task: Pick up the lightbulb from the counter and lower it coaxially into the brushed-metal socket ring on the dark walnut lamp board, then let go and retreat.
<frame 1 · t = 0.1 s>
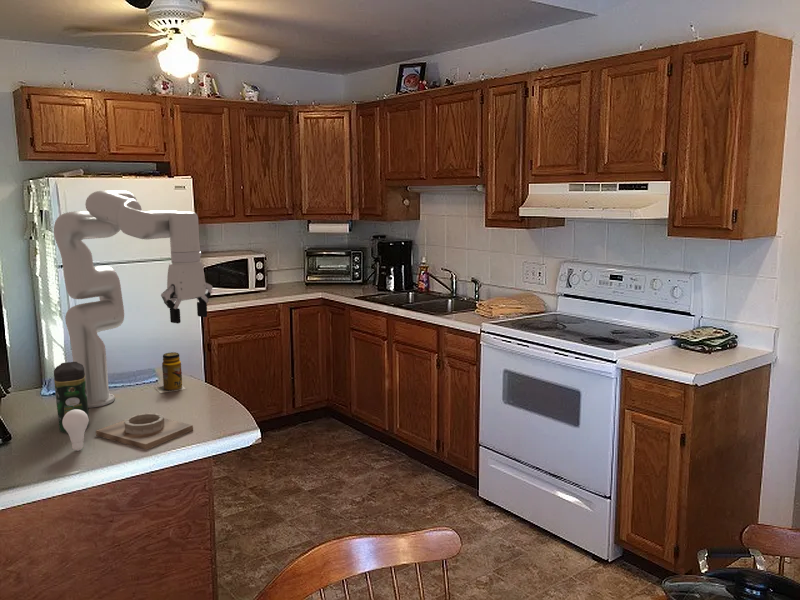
hand: (189, 319, 185), 31 cm above the counter, tool pointing down, fingers open, 9 cm apart
coffee jar: (74, 428, 190), on the counter
socket board: (145, 432, 186), on the counter
condiment: (170, 389, 226), on the counter
lightbulb: (78, 451, 174), on the counter
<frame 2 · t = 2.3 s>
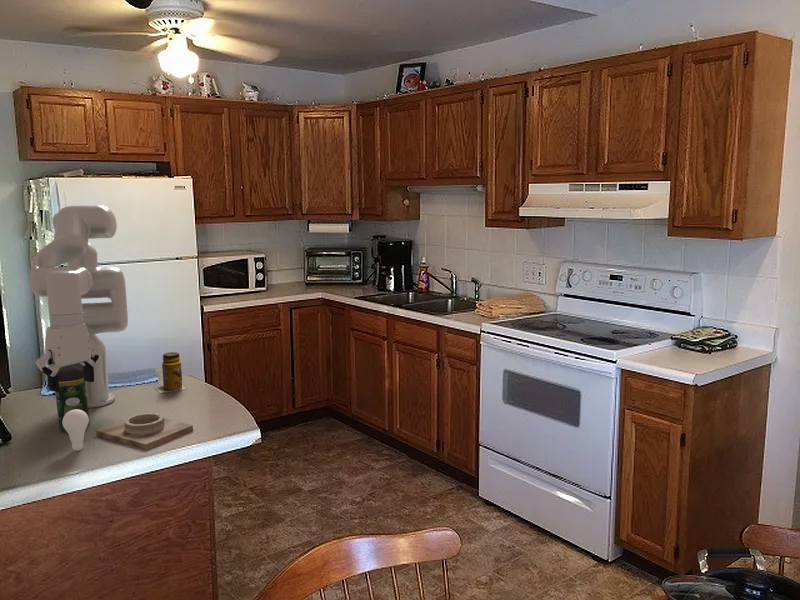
hand: (72, 386, 171), 17 cm above the counter, tool pointing down, fingers open, 9 cm apart
nothing on the counter moved.
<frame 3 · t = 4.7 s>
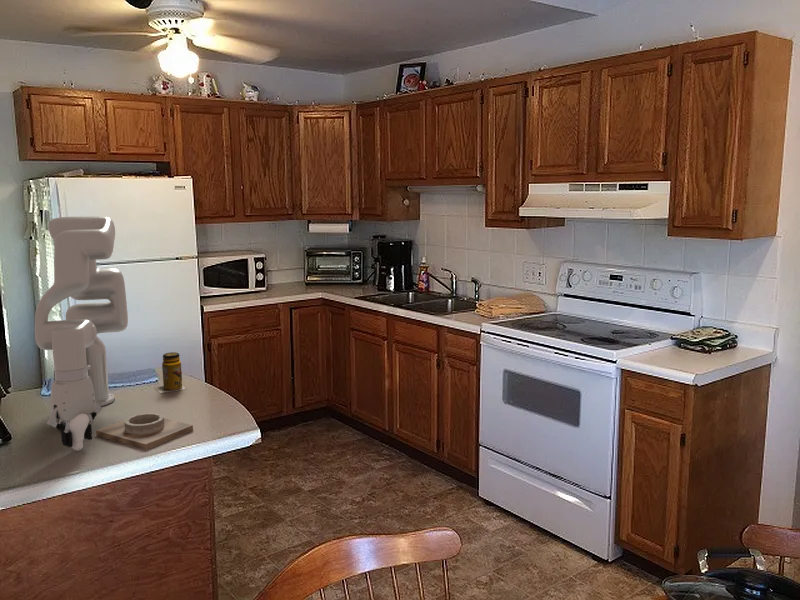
hand: (77, 441, 174), 2 cm above the counter, tool pointing down, fingers closed on lightbulb, 4 cm apart
lightbulb: (78, 451, 174), on the counter, touching gripper
everything else where it was.
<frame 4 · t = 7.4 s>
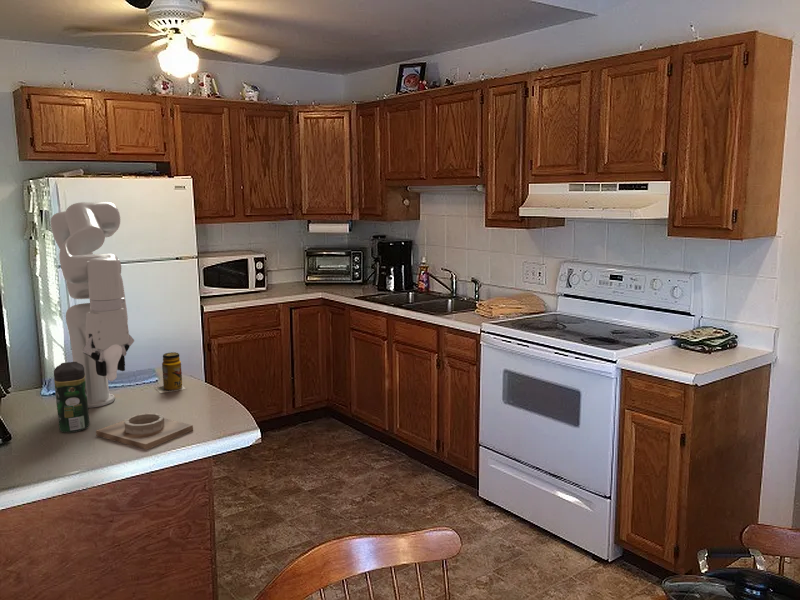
hand: (111, 372, 178), 19 cm above the counter, tool pointing down, fingers closed on lightbulb, 4 cm apart
lightbulb: (111, 381, 178), point 16 cm above the counter, touching gripper
everything else where it was.
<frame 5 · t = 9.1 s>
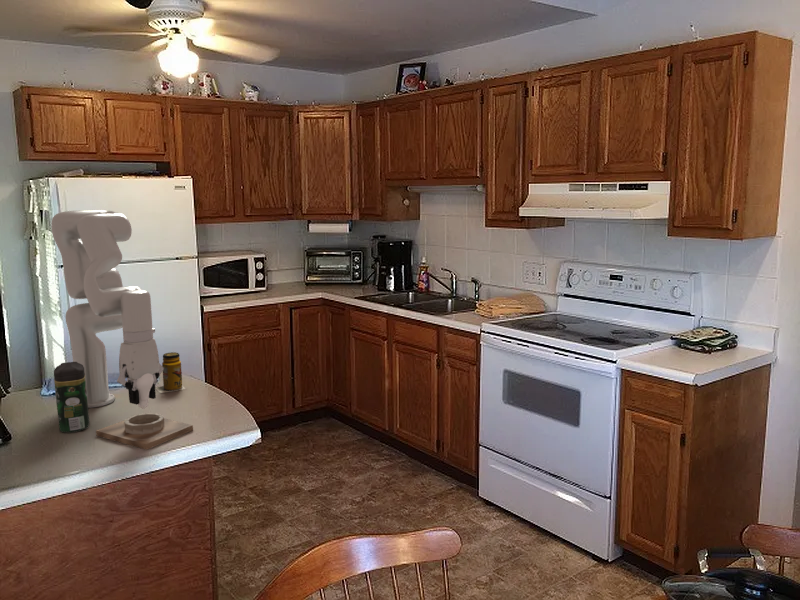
hand: (142, 399, 185), 10 cm above the counter, tool pointing down, fingers closed on lightbulb, 4 cm apart
lightbulb: (143, 409, 185), point 7 cm above the counter, touching gripper
everything else where it was.
when the fingers open (5 cm above the counter, at t = 10.5 s): lightbulb drops 1 cm, resting on socket board.
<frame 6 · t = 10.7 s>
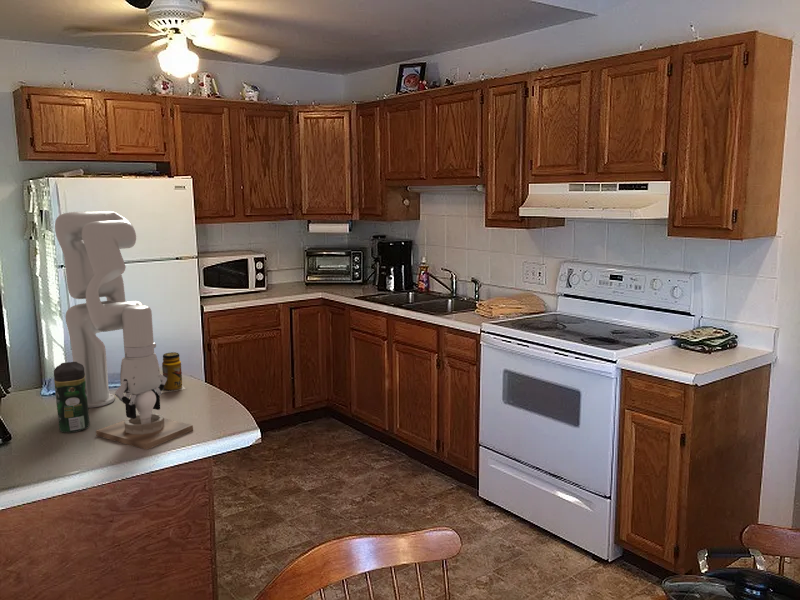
hand: (143, 412, 185), 6 cm above the counter, tool pointing down, fingers open, 7 cm apart
lightbulb: (146, 427, 187), point 1 cm above the counter, touching socket board
everything else where it was.
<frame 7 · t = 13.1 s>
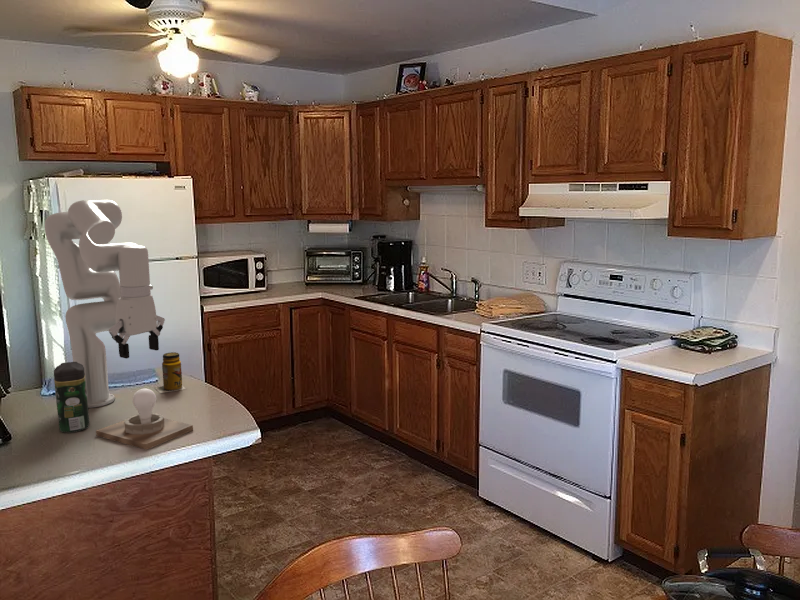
hand: (139, 353, 183), 22 cm above the counter, tool pointing down, fingers open, 9 cm apart
nothing on the counter moved.
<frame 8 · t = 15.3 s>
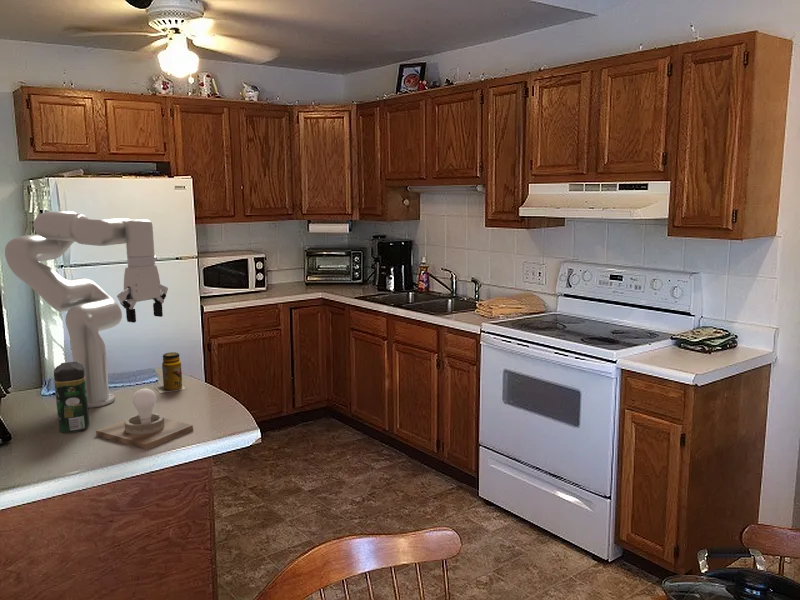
hand: (145, 319, 200), 28 cm above the counter, tool pointing down, fingers open, 9 cm apart
nothing on the counter moved.
at the end: lightbulb 0.6 cm off-centre on the socket board, point 1.3 cm above the socket board's base; lightbulb tilted 0°; the gripper is holding nothing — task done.
